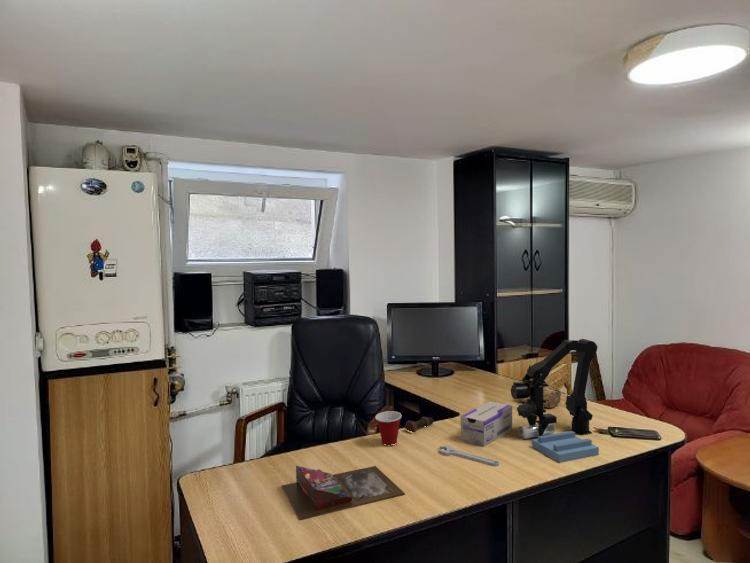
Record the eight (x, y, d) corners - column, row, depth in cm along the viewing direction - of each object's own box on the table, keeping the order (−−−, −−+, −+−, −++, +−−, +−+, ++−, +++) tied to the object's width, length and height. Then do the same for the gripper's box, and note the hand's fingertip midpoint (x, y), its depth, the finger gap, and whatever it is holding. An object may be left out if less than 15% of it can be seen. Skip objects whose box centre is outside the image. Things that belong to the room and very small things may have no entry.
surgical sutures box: (490, 424, 225) (489, 401, 224) (512, 429, 218) (512, 405, 217) (460, 441, 206) (460, 416, 205) (484, 447, 199) (483, 421, 198)
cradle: (569, 440, 203) (569, 428, 203) (598, 455, 188) (598, 442, 188) (532, 447, 198) (531, 434, 197) (559, 462, 182) (559, 449, 182)
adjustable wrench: (500, 465, 182) (500, 461, 182) (491, 471, 178) (491, 467, 178) (443, 448, 199) (443, 444, 199) (434, 453, 195) (434, 449, 195)
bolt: (432, 428, 227) (410, 436, 216) (425, 421, 230) (403, 428, 219) (437, 419, 224) (415, 426, 214) (430, 411, 228) (408, 418, 217)
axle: (546, 431, 214) (546, 420, 213) (554, 436, 209) (554, 424, 209) (518, 436, 209) (518, 424, 209) (526, 440, 204) (526, 429, 204)
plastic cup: (370, 444, 204) (369, 415, 204) (387, 437, 212) (387, 409, 212) (390, 451, 197) (389, 421, 196) (407, 443, 205) (407, 414, 204)
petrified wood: (564, 405, 249) (562, 386, 247) (548, 415, 242) (546, 397, 240) (531, 395, 265) (529, 378, 262) (515, 405, 257) (513, 387, 255)
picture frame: (281, 488, 170) (280, 464, 169) (375, 468, 183) (375, 446, 183) (299, 522, 147) (298, 495, 147) (405, 497, 161) (405, 472, 160)
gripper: (506, 393, 214) (507, 429, 215) (534, 405, 197) (534, 444, 197) (528, 390, 218) (529, 425, 219) (557, 402, 200) (557, 440, 201)
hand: (536, 433), depth 209 cm, fingers closed on axle, 5 cm apart
